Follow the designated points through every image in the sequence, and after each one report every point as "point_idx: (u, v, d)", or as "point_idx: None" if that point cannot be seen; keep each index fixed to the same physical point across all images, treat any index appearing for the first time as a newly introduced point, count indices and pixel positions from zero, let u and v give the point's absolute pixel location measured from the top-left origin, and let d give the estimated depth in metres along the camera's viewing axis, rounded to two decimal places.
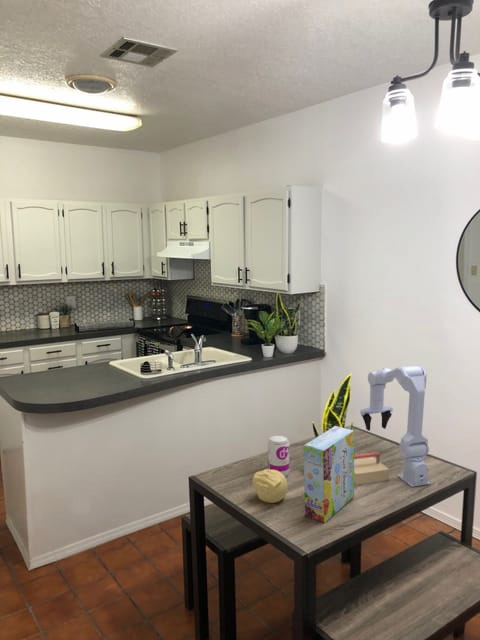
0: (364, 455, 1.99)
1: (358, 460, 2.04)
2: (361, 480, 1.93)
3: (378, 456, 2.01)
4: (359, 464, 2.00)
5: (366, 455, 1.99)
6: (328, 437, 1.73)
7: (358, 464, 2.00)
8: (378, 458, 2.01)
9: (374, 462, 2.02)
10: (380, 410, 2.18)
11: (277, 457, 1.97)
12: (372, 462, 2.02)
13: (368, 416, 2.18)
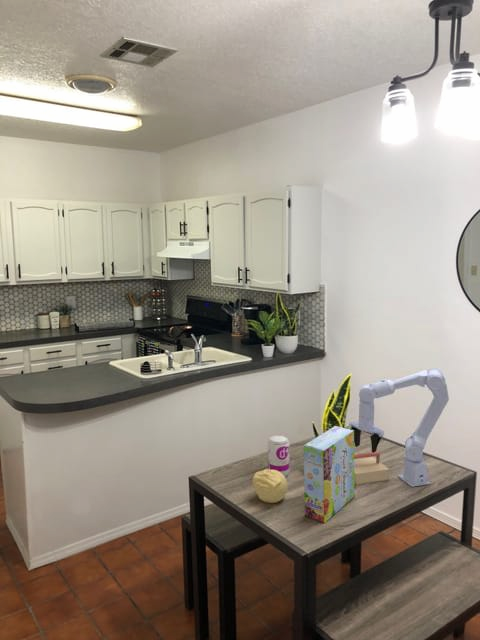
0: (364, 455, 1.99)
1: (358, 460, 2.04)
2: (361, 480, 1.93)
3: (378, 456, 2.01)
4: (359, 464, 2.00)
5: (366, 455, 1.99)
6: (328, 437, 1.73)
7: (358, 464, 2.00)
8: (378, 458, 2.01)
9: (374, 462, 2.02)
10: (362, 428, 1.97)
11: (277, 457, 1.97)
12: (372, 462, 2.02)
13: None
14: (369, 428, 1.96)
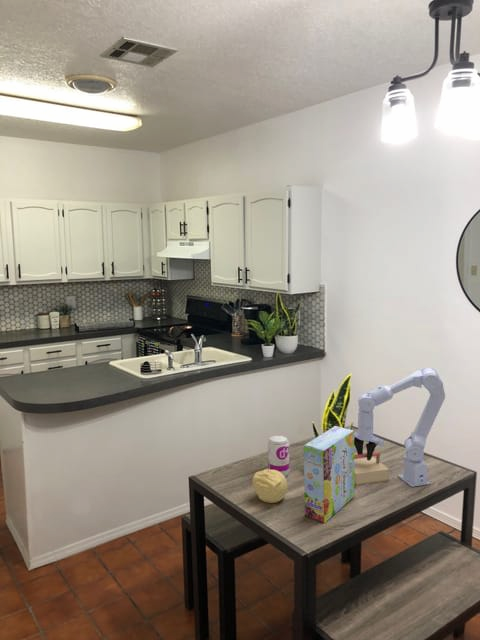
0: (364, 455, 1.99)
1: (358, 460, 2.04)
2: (361, 480, 1.93)
3: (378, 456, 2.01)
4: (359, 464, 2.00)
5: (366, 455, 1.99)
6: (328, 437, 1.73)
7: (358, 464, 2.00)
8: (378, 458, 2.01)
9: (374, 462, 2.02)
10: (362, 438, 1.96)
11: (277, 457, 1.97)
12: (372, 462, 2.02)
13: (355, 441, 1.99)
14: (369, 437, 1.96)
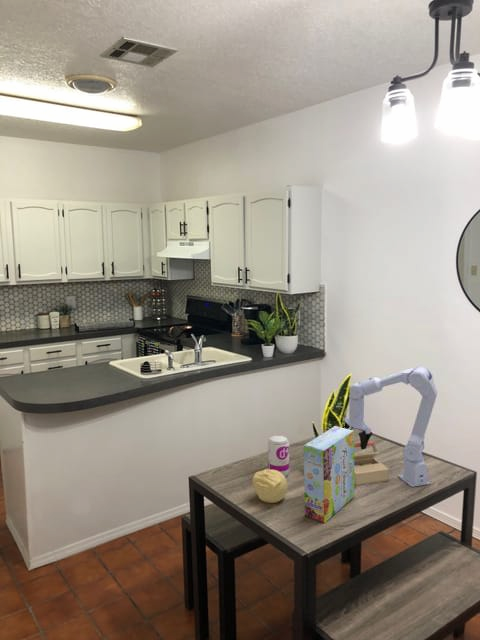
0: (359, 443, 2.03)
1: None
2: (361, 480, 1.93)
3: (374, 445, 2.04)
4: None
5: None
6: (328, 437, 1.73)
7: None
8: (374, 447, 2.03)
9: None
10: None
11: (277, 457, 1.97)
12: None
13: None
14: (357, 425, 2.02)
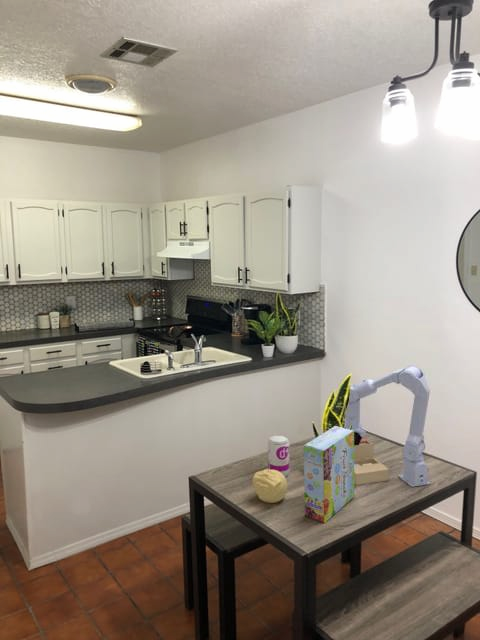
0: None
1: None
2: (361, 480, 1.93)
3: (367, 440, 2.09)
4: None
5: None
6: (328, 437, 1.73)
7: None
8: (368, 441, 2.08)
9: None
10: (347, 427, 2.07)
11: (277, 457, 1.97)
12: None
13: None
14: (353, 427, 2.06)
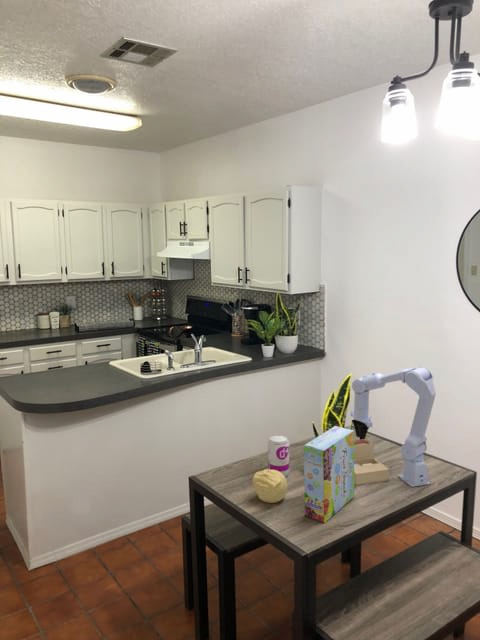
0: None
1: None
2: (361, 480, 1.93)
3: (367, 440, 2.09)
4: None
5: None
6: (328, 437, 1.73)
7: None
8: (368, 441, 2.08)
9: None
10: (355, 417, 2.09)
11: (277, 457, 1.97)
12: None
13: (354, 420, 2.12)
14: (361, 418, 2.08)
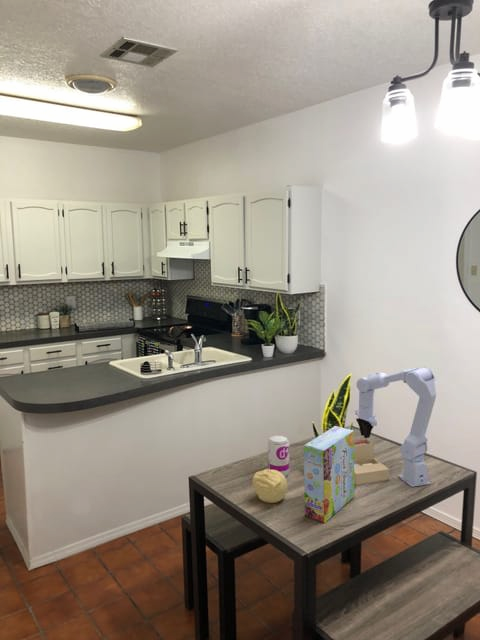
0: None
1: None
2: (361, 480, 1.93)
3: (367, 440, 2.09)
4: None
5: None
6: (328, 437, 1.73)
7: None
8: (368, 441, 2.08)
9: None
10: (359, 416, 2.11)
11: (277, 457, 1.97)
12: None
13: (358, 419, 2.14)
14: (365, 417, 2.09)
